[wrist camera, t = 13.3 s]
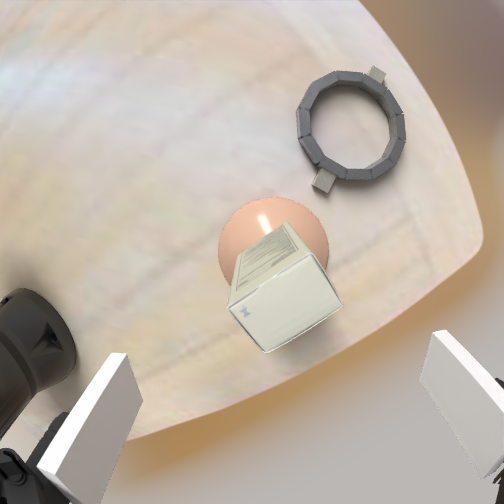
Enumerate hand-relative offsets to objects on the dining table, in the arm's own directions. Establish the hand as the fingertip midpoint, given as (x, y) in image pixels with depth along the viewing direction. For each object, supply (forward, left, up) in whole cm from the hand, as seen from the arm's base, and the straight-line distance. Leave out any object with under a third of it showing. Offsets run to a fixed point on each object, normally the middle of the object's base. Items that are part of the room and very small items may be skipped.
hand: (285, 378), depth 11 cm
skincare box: (0, 0, -19) cm, 19 cm away
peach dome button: (0, 0, -19) cm, 19 cm away
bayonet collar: (+15, -1, -19) cm, 24 cm away
